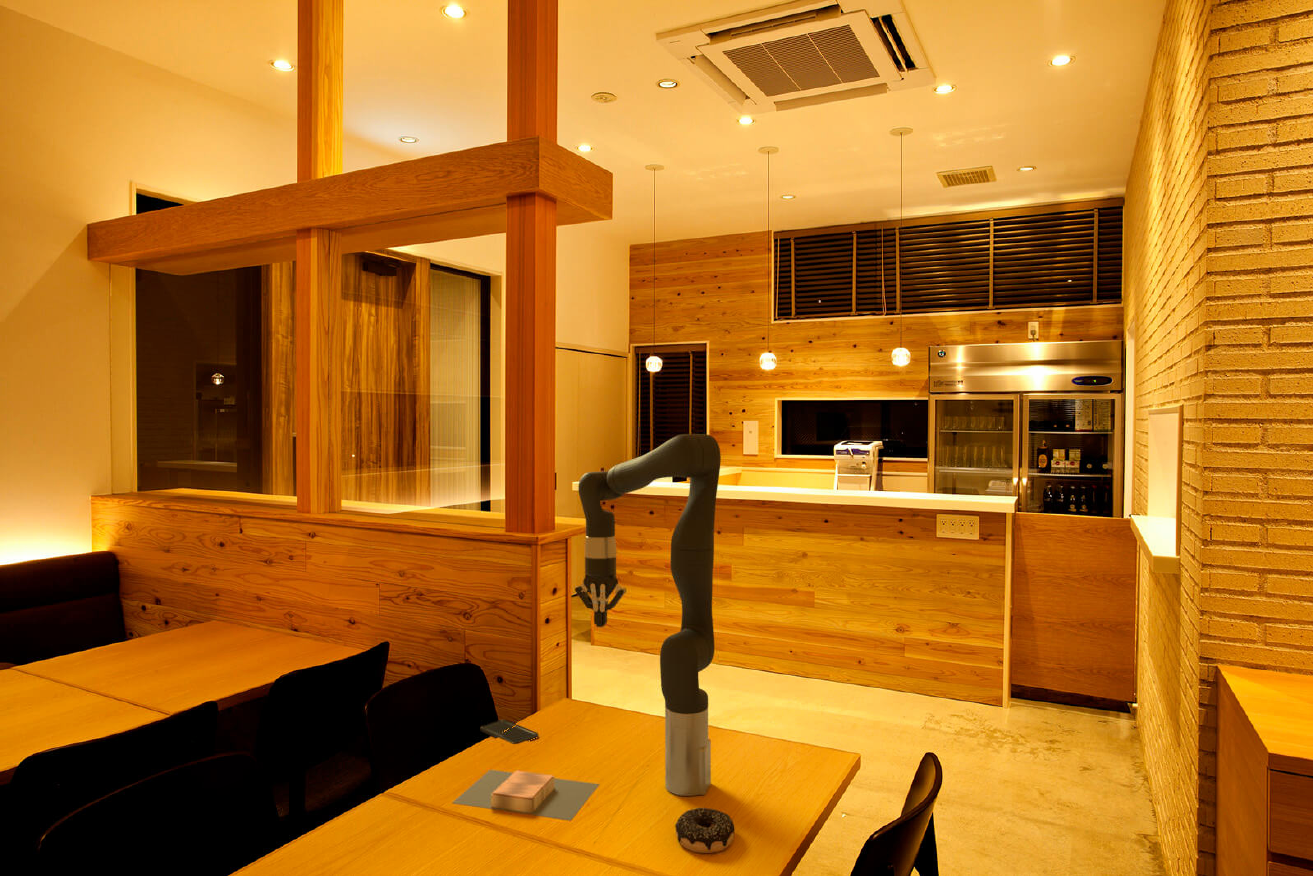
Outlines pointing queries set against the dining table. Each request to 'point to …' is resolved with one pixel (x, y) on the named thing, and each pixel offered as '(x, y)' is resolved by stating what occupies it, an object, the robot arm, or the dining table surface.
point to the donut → (705, 830)
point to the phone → (509, 731)
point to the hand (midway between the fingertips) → (600, 626)
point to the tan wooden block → (523, 791)
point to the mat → (555, 805)
